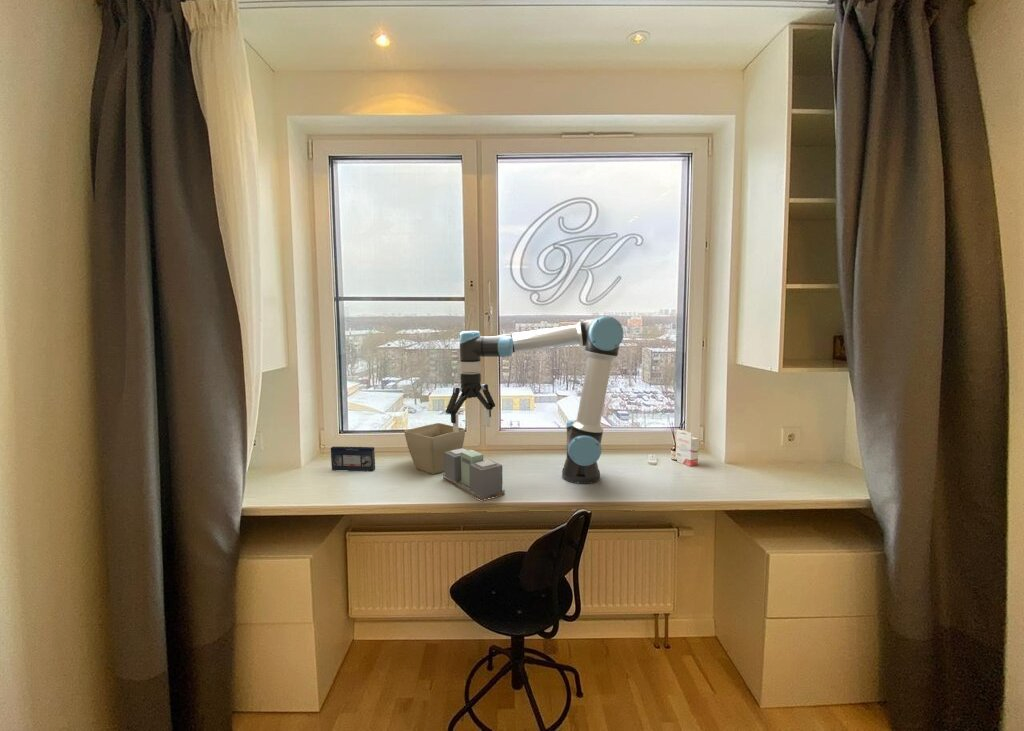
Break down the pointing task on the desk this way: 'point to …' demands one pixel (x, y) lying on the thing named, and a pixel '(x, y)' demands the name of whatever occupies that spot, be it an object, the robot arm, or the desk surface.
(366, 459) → the vhs cassette tape
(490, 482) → the mounted modules
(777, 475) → the desk surface
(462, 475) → the block
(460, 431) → the flower pot
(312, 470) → the desk surface
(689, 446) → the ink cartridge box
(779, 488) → the desk surface
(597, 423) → the robot arm
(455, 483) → the rail board
